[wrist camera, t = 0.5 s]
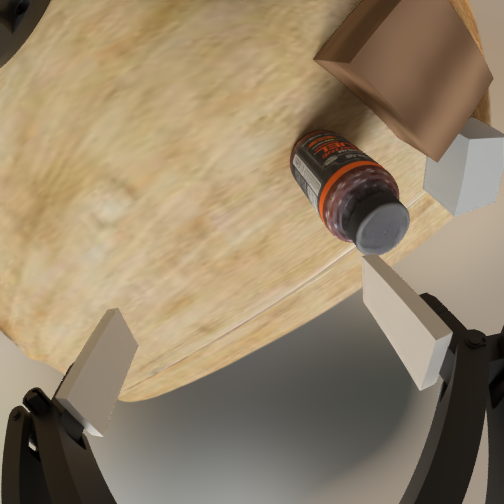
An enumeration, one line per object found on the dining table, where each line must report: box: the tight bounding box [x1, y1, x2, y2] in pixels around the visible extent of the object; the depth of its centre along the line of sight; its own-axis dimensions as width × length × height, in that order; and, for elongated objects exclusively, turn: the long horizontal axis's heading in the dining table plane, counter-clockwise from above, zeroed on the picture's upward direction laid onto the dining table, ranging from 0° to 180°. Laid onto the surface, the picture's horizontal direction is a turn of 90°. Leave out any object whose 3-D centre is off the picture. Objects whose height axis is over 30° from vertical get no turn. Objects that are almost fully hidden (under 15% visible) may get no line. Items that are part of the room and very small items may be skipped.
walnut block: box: [313, 0, 493, 163], centre depth 15 cm, size 12×12×6 cm
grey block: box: [423, 118, 504, 217], centre depth 22 cm, size 9×9×6 cm
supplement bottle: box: [290, 130, 410, 255], centre depth 19 cm, size 6×6×11 cm
